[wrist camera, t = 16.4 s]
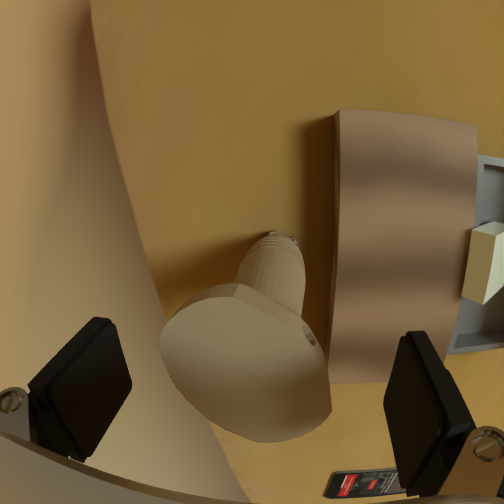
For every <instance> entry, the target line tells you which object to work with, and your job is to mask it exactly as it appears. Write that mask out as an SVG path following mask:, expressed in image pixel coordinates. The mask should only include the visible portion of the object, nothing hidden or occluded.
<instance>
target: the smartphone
mask: <svg viewBox="0 0 504 504" xmlns="http://www.w3.org/2000/svg"><path fill="white" fill-rule="evenodd" d="M401 493H406V488H405V489H402V488H401V487H400V483H399V478H398V472H397V467H396V468H386V469H373V470H354V471H337V472H334V473H333V475H332V477H331V480H330V482H329V485H328V487H327V490H326V492H325V498H327V499H341V498H361V497H374V496H385V495H394V494H401Z"/></svg>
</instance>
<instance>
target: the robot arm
mask: <svg viewBox="0 0 504 504" xmlns="http://www.w3.org/2000/svg"><path fill="white" fill-rule="evenodd" d="M28 387H29V389H30V393H29V394H27V393H26V391H25V390H24V389H22V388H19V387H10V388H8V389H5V390H3V391H1V392H0V504H255V503H244V502H235V501H227V500H220V499H213V498H207V497H201V496H195V495H190V494H185V493H180V492H175V491H171V490H166V489H162V488H158V487H154V486H150V485H146V484H143V483H139V482H135V481H132V480H129V479H125V478H122V477H119V476H115V475H112V474H109V473H106V472H103V471H100V470H98V469H95V468H92V467H89V466H87V465H84V464H81V463H84V462H85V460H86V458H87V457H90V456H91V455H92V454H93V452H94V451H95V449H96V447H97V446H98V444H99V442H100V441H101V439H102V437H103V436H104V434H105V432H106V431H107V429H108V427H109V426H110V424H111V422H112V421H113V419H114V418H115V416H116V414H117V413H118V411H119V409H120V408H121V406H122V404H123V403H124V401H125V399H126V398H127V396H128V395H129V393H130V391H131V389H132V380H131V377H130V374H129V371H128V368H127V364H126V362H125V358H124V354H123V351H122V348H121V344H120V340H119V337H118V333H117V329H116V326H115V324H113V323H112V321H111V320H110V319H108V318H101V317H94V318H92V319H91V320H90V321H89V322H88V323H87V324H86V325H85V326H84V327H83V328H82V329H81V330H80V331H79V332H78V333H77V334H76V335H75V336H74V337H73V338H72V339H71V340H70V341H69V342H68V343H67V344H66V345H65V346H64V347H63V348H62V349H61V350H60V351H59V352H58V353H57V354H56V355H55V356H54V357H53V358H52V359H51V360H50V361H49V362H48V363H47V364H46V366H45V367H44V368H43V369H42V370H41V371H40V372H39V373H38V374H37V375H36V376H35V377H34V378H33V379H32V380H31V381H30V383H28ZM383 406H384V411H385V415H386V420H387V424H388V428H389V433H390V438H391V442H392V447H393V452H394V457H395V462H396V467H397V472H398V478H399V483H400V487H401V488H402V489H405V488H406V494H407V497H410V496H415V495H419V497H420V498H413V499H404V500H397V501H389V502H380V503H369V504H504V432H503V431H502V430H500V429H498V428H496V427H492V426H482V427H478V428H477V427H476V425H475V423H474V421H473V419H472V416H471V414H470V412H469V410H468V408H467V406H466V404H465V402H464V399H463V397H462V395H461V393H460V391H459V389H458V387H457V385H456V383H455V381H454V379H453V377H452V375H451V374H450V372H449V371H448V370H447V369H445V367H444V365H443V363H442V361H441V359H440V357H439V355H438V353H437V352H436V350H435V348H434V346H433V344H432V342H431V341H430V339H429V337H428V335H427V333H426V332H425V331H423V330H421V331H408V332H406V334H405V336H401V337H400V340H399V344H398V348H397V352H396V356H395V360H394V364H393V368H392V371H391V375H390V379H389V382H388V386H387V389H386V392H385V396H384V401H383ZM68 456H70V458H71V459H74V460H76V461H79V462H81V463H79V462H76V461H74V460H71V459H69V458H68Z"/></svg>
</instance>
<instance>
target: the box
mask: <svg viewBox="0 0 504 504" xmlns="http://www.w3.org/2000/svg"><path fill="white" fill-rule="evenodd" d="M492 221H495V222H499V223H503V224H504V159H502V158H496V157H491V156H485V155H479V154H478V172H477V191H476V205H475V215H474V225H473V229H474V228H477V227H480V226H482V225H485V224H487V223H490V222H492ZM498 348H504V285H503V287H502V288H501V289H500V290H498V291H497V292H496V293H495V294H494V295H493V296H492V297H491V298H490V299H489V300H488V301H487V302H486V303H485V304H483V305H482V304H480V303H477V302H475V301H472V300H470V299H467V298H465V297H462V296H461V301H460V305H459V310H458V314H457V318H456V322H455V325H454V329H453V333H452V336H451V340H450V343H449V347H448V350H447V353H446V355H450V354H459V353H468V352H476V351H484V350H491V349H498Z"/></svg>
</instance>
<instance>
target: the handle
mask: <svg viewBox="0 0 504 504" xmlns="http://www.w3.org/2000/svg"><path fill="white" fill-rule="evenodd" d="M298 247H299V245H298V242H297V241H296V239H295V238H294V237H292V236H290V237H289V236H285V235H282V234H281V233H279V232H278V231H277V230H274V231H271V232H270V233H269V234H268V235H267V236H265V237H263V238H261V239H260V240H258V241H257V242H256V243H255V244H254V245H253V246H252V247H251V248H250V249H249V250H248V252H247V253H246V255H245V257H244V258H243V260H242V262H241V264H240V266H239V269H238V272H237V275H236V278H235V281H234V283H226V284H219V285H215V286H212V287H210V288H207V289H204V290H202V291H201V292H199V293H197V294H195V295H194V296H192V297H191V298H190V299H188V300H187V301H186V302H185V303H184V304H183V305H181V306H180V307H179V309H178V310H177V311H176V312H175V314H174V315H173V316H172V317H171V319H170V320H169V321H168V323H167V324H166V325H165V327H164V328H163V330H162V333H161V335H160V338H159V343H158V348H159V351H160V353H161V356H162V358H163V361H164V363H165V366H166V368H167V370H168V373H169V375H170V377H171V379H172V381H173V383H174V384H175V386H176V388H177V389H178V390H179V391H180V392H181V394H182V395H183V396H184V397H185V398H186V399H187V400H188V401H189V402H190V403H191V404H192V405H193V406H195V408H196V409H197V410H198V411H200V412H201V413H202V414H203V415H204V416H205V417H206V418H208V419H209V420H210V421H212V422H213V423H214V424H216V425H218V426H220V427H222V428H224V429H226V430H228V431H230V432H232V433H235V434H237V435H239V436H242V437H244V438H247V439H250V440H252V441H255V442H262V443H271V442H281V441H286V440H290V439H293V438H296V437H299V436H302V435H304V434H306V433H308V432H310V431H312V430H313V429H315V428H316V427H318V426H319V425H321V424H322V423H323V422H324V421H325V420H326V419H327V417H328V416H329V415H330V413H331V412H332V406H331V394H330V384H329V376H328V369H327V363H326V359H325V355H324V352H323V350H322V348H321V346H320V344H319V343H318V341H317V339H316V337H315V336H314V334H313V332H312V331H311V329H310V327H309V326H308V325H307V324H306V323H305V322H304V320H303V319H302V318H301V313H302V306H303V299H304V291H305V283H306V278H305V266H304V261H303V257H302V254H301V252H300V250H299V248H298Z"/></svg>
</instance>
